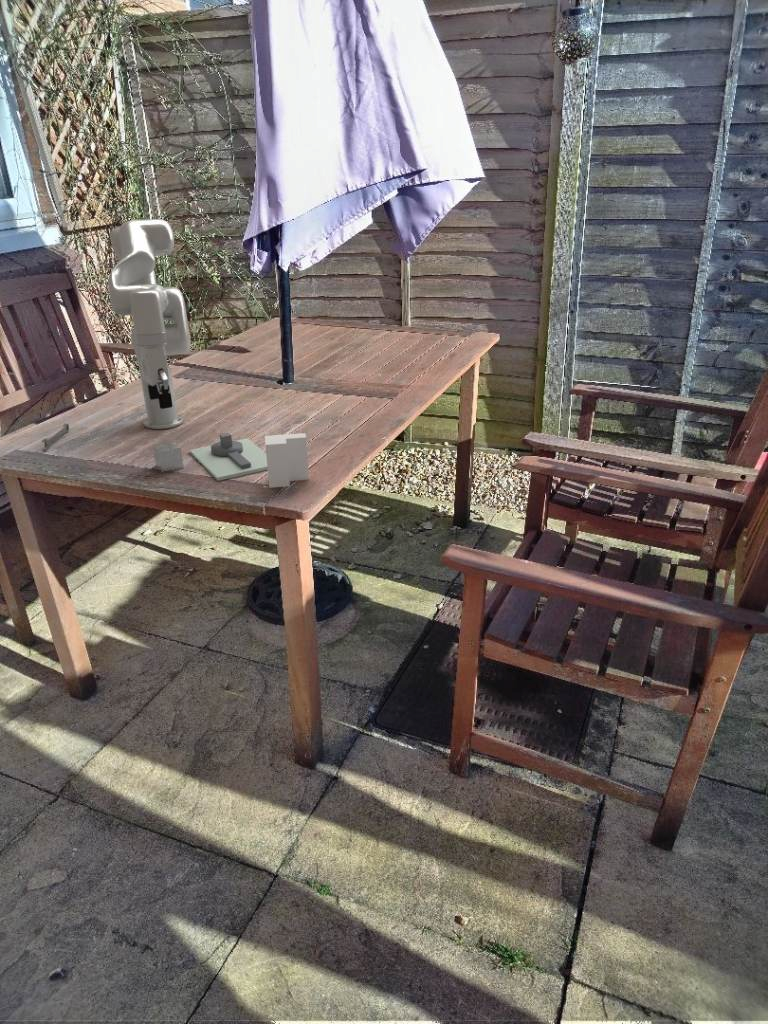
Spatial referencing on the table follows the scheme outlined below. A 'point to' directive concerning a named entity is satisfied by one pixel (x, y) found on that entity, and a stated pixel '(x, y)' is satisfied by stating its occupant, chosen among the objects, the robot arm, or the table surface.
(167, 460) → the brushed aluminum cube
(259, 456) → the board
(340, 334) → the table surface
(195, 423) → the table surface
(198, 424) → the table surface
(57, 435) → the combination wrench
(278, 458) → the corner bracket
